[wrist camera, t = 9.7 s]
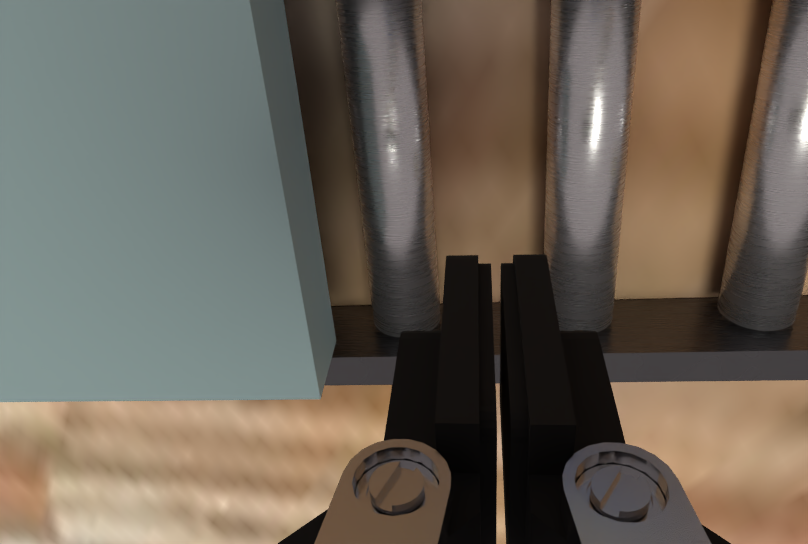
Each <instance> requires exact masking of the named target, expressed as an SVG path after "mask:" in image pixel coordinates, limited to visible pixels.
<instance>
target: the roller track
mask: <svg viewBox="0 0 808 544" xmlns="http://www.w3.org/2000/svg"><path fill="white" fill-rule="evenodd" d="M336 5H337V14H338V22H339V30H340V39H341V47H342V56H343V64H344V72H345V81H346V89H347V98H348V106H349V115H350V123H351V131H352V140H353V148H354V157H355V165H356V174H357V182H358V190H359V199H360V207H361V216H362V224H363V232H364V241H365V249H366V258H367V266H368V275H369V283H370V291H371V300H372V306H339V307H331V310H332V316H333V323H334V329H335V336H336V344H335V348H334V351H333V355H332V359H331V362H330V366H329V370H328V373H327V377H326V381H325V384H324V385H393V378H394V371H395V365H396V358H397V352H398V345H399V339H400V334H401V332H402V331H441V325H442V310H443V304H440V302H439V285H438V269H437V252H436V235H435V219H434V202H433V185H432V169H431V152H430V135H429V119H428V102H427V85H426V69H425V52H424V36H423V19H422V2H421V0H336ZM640 10H641V0H551V25H550V59H549V94H548V128H547V162H546V197H545V231H544V254H546V255H547V260H548V265H549V271H550V277H551V283H552V288H553V294H554V300H555V306H556V311H557V317H558V323H559V329H560V331H596V332H597V334H598V337H599V340H600V344H601V348H602V352H603V356H604V360H605V364H606V368H607V372H608V376H609V380H610V382H666V381H756V380H808V296H801V294H802V290H803V286H804V282H805V278H806V274H807V270H808V0H773V2H772V7H771V13H770V18H769V24H768V29H767V35H766V40H765V46H764V51H763V57H762V62H761V68H760V73H759V79H758V84H757V90H756V95H755V101H754V107H753V112H752V118H751V123H750V129H749V134H748V140H747V145H746V151H745V156H744V162H743V167H742V173H741V178H740V184H739V189H738V195H737V200H736V206H735V211H734V217H733V222H732V228H731V234H730V239H729V245H728V250H727V256H726V261H725V267H724V272H723V278H722V283H721V289H720V294H719V298H683V299H640V300H614V296H615V285H616V274H617V263H618V252H619V241H620V230H621V219H622V208H623V197H624V186H625V175H626V164H627V153H628V142H629V131H630V120H631V109H632V98H633V87H634V76H635V65H636V54H637V43H638V32H639V21H640ZM500 305H501V303H492V307H493V334H494V361H495V383H500Z"/></svg>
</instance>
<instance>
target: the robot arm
mask: <svg viewBox="0 0 808 544" xmlns="http://www.w3.org/2000/svg"><path fill="white" fill-rule="evenodd" d="M500 413H501V435H502V458H503V480H504V503H505V525H506V544H731V543H729V542H728V541H726V540H725V539H723V538H721V537H720V536H718V535H717V534H715V533H714V532H712V531H711V530H709V529H708V528H706V527H705V526H703V525H702V524H701V523H700V521H699V519H698V517H697V515H696V513H695V511H694V509H693V507H692V505H691V503H690V501H689V499H688V497H687V495H686V493H685V492H684V490H683V488H682V486H681V484H680V482H679V480H678V478H677V477H676V476H675V474H674V473H673V472H672V470H671V469H670V467H669V466H668V465H667V464H665V463H664V462H663V461H662V460H660V459H659V458H658V457H657V456H655V455H654V454H652V453H650V452H648V451H645V450H643V449H641V448H639V447H636V446H632V445H628V444H625V440H624V436H623V432H622V428H621V424H620V420H619V416H618V412H617V408H616V404H615V400H614V396H613V392H612V388H611V384H610V380H609V376H608V372H607V368H606V364H605V360H604V356H603V352H602V348H601V344H600V340H599V337H598V334H597V332H596V331H560V329H559V323H558V317H557V311H556V306H555V300H554V294H553V288H552V283H551V277H550V271H549V265H548V260H547V255H546V254H544V255H514V256H513V263H501V305H500ZM496 489H497V417H496V387H495V361H494V334H493V307H492V280H491V264H478V255H467V256H446V267H445V282H444V296H443V310H442V325H441V331H402V332H401V334H400V339H399V345H398V352H397V358H396V365H395V371H394V378H393V385H392V391H391V398H390V404H389V411H388V417H387V424H386V431H385V437H384V441H381V442H377V443H374V444H372V445H370V446H368V447H366V448H364V449H362V450H361V451H360V452H359V453H358V454H356V455H355V456H354V457H353V458H352V459H351V460H350V461H349V463H348V465H347V466H346V468H345V470H344V471H343V473H342V476H341V478H340V481H339V483H338V486H337V488H336V491H335V493H334V496H333V498H332V501H331V503H330V506H329V508H328V510H326V511H325V512H323V513H322V514H320V515H319V516H317V517H316V518H314V519H313V520H311V521H310V522H309V523H307V524H306V525H304V526H303V527H301V528H300V529H298V530H297V531H295V532H294V533H292V534H291V535H289V536H288V537H287V538H285V539H284V540H282V541H281V542H279V543H278V544H496Z"/></svg>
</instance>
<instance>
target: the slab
mask: <svg viewBox="0 0 808 544" xmlns="http://www.w3.org/2000/svg"><path fill="white" fill-rule="evenodd" d="M335 344H336V336H335V329H334V323H333V316H332V310H331V303H330V297H329V290H328V284H327V277H326V271H325V265H324V258H323V252H322V245H321V239H320V232H319V226H318V219H317V213H316V206H315V200H314V193H313V187H312V180H311V174H310V168H309V161H308V155H307V148H306V142H305V135H304V129H303V122H302V116H301V109H300V103H299V96H298V90H297V83H296V77H295V71H294V64H293V58H292V51H291V45H290V38H289V32H288V25H287V19H286V12H285V6H284V0H0V402H60V401H171V400H283V399H321V395H322V392H323V388H324V384H325V381H326V377H327V373H328V370H329V366H330V362H331V359H332V355H333V351H334V348H335Z"/></svg>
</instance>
